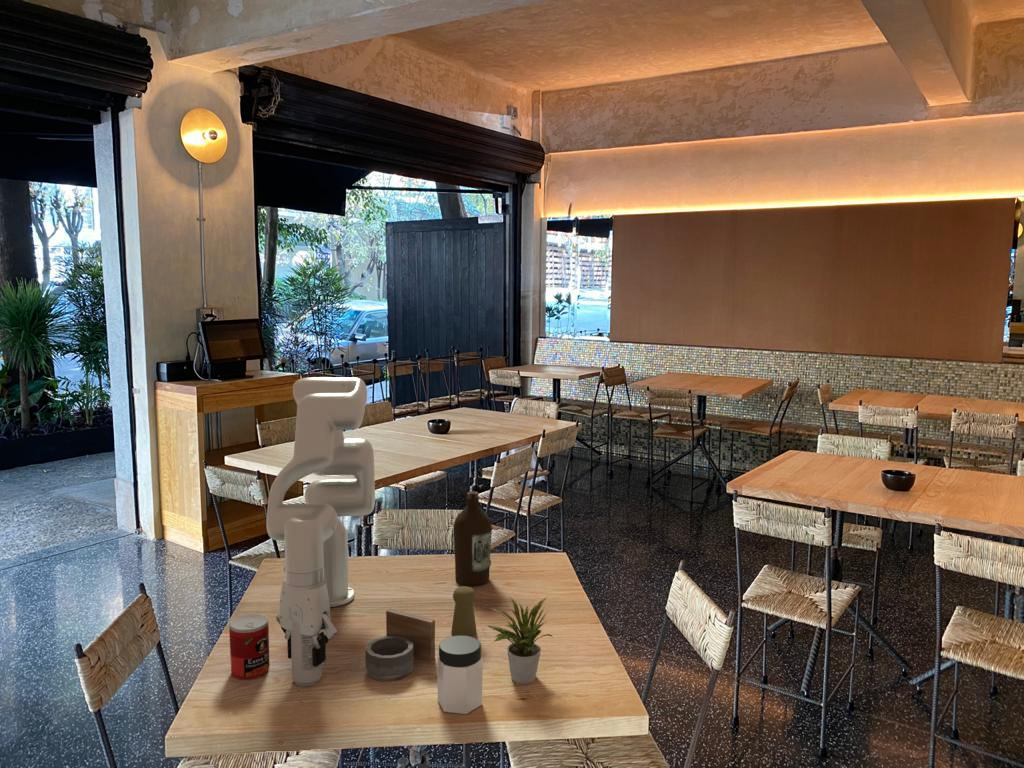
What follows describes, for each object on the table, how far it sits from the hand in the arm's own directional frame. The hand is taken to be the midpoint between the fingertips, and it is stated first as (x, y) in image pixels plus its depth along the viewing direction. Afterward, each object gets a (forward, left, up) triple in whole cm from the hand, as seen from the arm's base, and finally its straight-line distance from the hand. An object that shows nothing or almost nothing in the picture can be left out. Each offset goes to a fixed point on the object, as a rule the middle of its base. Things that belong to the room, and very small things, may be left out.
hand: (306, 659), depth 153 cm
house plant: (+38, +24, -5) cm, 45 cm away
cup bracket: (+12, +14, -5) cm, 19 cm away
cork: (+17, +34, -5) cm, 38 cm away
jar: (+32, +8, -5) cm, 33 cm away
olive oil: (+2, +63, -5) cm, 63 cm away
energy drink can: (0, 0, -5) cm, 5 cm away
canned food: (-13, -3, -5) cm, 14 cm away
